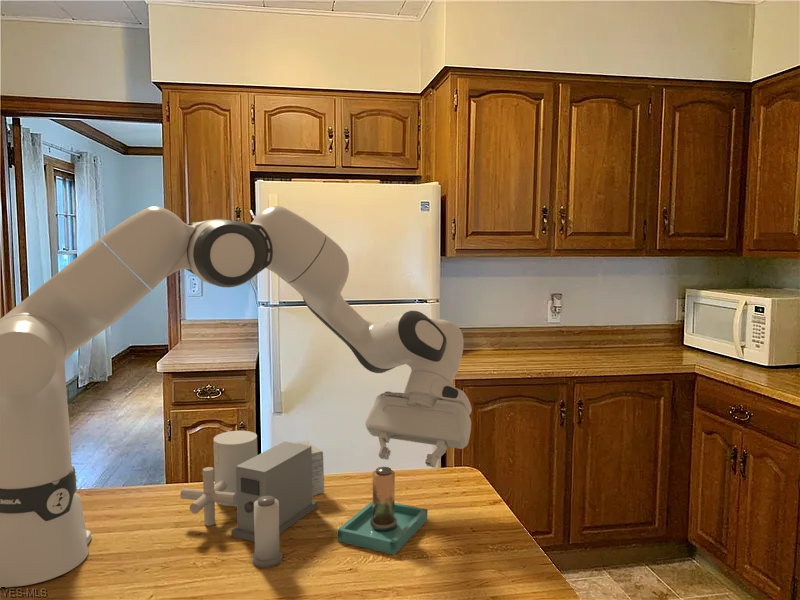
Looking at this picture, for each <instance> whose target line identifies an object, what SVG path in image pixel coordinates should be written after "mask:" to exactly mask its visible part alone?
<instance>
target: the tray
mask: <svg viewBox="0 0 800 600" xmlns="http://www.w3.org/2000/svg"><path fill="white" fill-rule="evenodd" d="M372 517H373V500H372V501H370V502H369V503H368V504H367V505H365V507H363V508H362V509H360V510H359V511H358V512H357V513H356V514H354V515H353V516H352V517H351V518H350V519H348V521H346V522H345V523H343V525H341V526H340V527H339V528H338V529H337V530H336V531H337V532H336V533H337V542H340V543H345V544H348V545H352V546H356V547H361V548H365V549H369V550H374V551H378V552H381V553H385V554H389V555H393V556H394V555H396V554H397V553H398V552H399V551H400V550H401V549H402V548H403V547H404V546H405V544H406V543H407V542H409V541H410V539H411V538H412V537H413V536H414V535H415V534H416V533H417V532H418V531H419V530H420V529H421V528H422V526H423V525H424V524H426V523H427V521H428V509H427V508H422V507H418V506H417V507H416V506H412V505H409V504H402V503H398V502H395V518H396V519H397V527H396V528H395V529H394V530H392V531H388V532H378V531H375V530H373V529H372V528H371V527H370V520H371V518H372Z"/></svg>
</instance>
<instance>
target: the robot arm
mask: <svg viewBox="0 0 800 600" xmlns="http://www.w3.org/2000/svg"><path fill="white" fill-rule="evenodd" d="M264 269H267V270H268V271H271V272H272V273H274V274H275V275H277V276H278V277H279V278H280V279H281V280H283V281H284V282H286V283H287V284H288V285H289V286H291V288H293V289H294V290H296V292H298V294H300V296H301V297H302V299H303V302H304V304H305V305H306V307H307V308H308V309H309V310H310V312H312V314H314V315H315V317H316V318H317V319H319V320H320V322H322V323H323V324H324V325H325V326H326V328H328V329H329V330H330V331H331V332H332V333H334V335H336V336H337V337H338V338H339V339H340V340H341V341H342V342H343V343H345V345H347V347H348V348H349V349H350V350H351V352H352V353H353V355H354V356H355V357H356V359H357V361H358V362H359V363H360V365H362V367H363V368H365V369H366V370H368V371H369V372H371V373H375V374H383V373H386V372H388V371H390V370H393V369H395V368H397V367H400V366H401V367H402V366H404V365H407V366H408V367H409V368H410V370H411V371H410V375H409V377H408V381H407V382H406V386H405V388H404V391H403V392H392V391H389V390H388V391H384V393H380V394H378V395H377V396H376V398H375V399H374V400H375V401H374V404H373V406H372V408H371V409H370V411H369V413H368V415H367V418H366V421H365V428H366V430H367V431H368V433H369V434H370V435H371V436H373V437H378V441H379V445H380V447H379V452H378V457H379V458H380V459H381V460H387V461H388V460H389V459H390V456H391V453H392V450H390V448H389V447H387V444H389V443H390V440H391V439H392V440H397V441H398V440H399V441H405V442H412V443H420V444H426V445H431V446H432V445H433V446H436V448H435V450H434V451H433V452H432V453H427V455H426V459H425V465H426V467H431V468H436V466H437V462H438V460H439V459H440V458H442V456H443V455H444V454H446V452H447V449H448V448H451V449H452V448H453V449H460V450H463V449H464V448H466V447H467V446H468V445H469V442H470V436H471V432H472V431H471V430H472V419H471V417H470V415H471V414H472V411H473V409H472V408H473V407H472V405H471V402H470V400H469V397H468V395H466V393H465V392H464V391H463V390H461V389H460V388H457V387H455V386H454V379H455V376H456V375H457V373H458V372H459V369H460V365H461V361H462V357H463V351H464V342H465V341H464V334H463V332H462V330H461V329H460V328H459V326H458V325H456V324H455V323H454V322H452V321H450V320H448V319H447V320H446V319H442V318H441V319H432V318H430V317H428V316H427V315H426V314H424V313H423V312H420V311H419V310H409V311H405V312H402V313H400V314H397V315H395V316H394V315H393V316H391V317H390V318H387V319H383V321H382V320H381V321H378V322H376V321H375V322H373V321H370V320H369V321H368V320H366V319H365V318H364V317H362V316H361V314H359V313H358V312H357V311H356V310H355V309H354V308H353V307H352V306H351V304H349V303H348V302H347V301H346V300H345V298H343V296H342V294H341V293H342V291H343V289H344V287H345V286H346V283H347V281H348V277H349V273H350V265H349V260H348V256H347V253H345V251H344V250H343V249H342V248H341V246H340V245H339V244H338V243H337V242H336V241H334V240H333V239H332V238H331V237H329V236H328V235H327V234H325V232H323V231H322V230H320V229H319V228H318V227H317V226H316V225H314V224H313V223H312V222H310V221H308V220H307V219H306V218H304V217H302V216H300V215H299V214H297V213H296V212H293V211H291V210H289V209H287V208H285V207H284V206H280V205H279V206H278V205H275V206H270V207H267V208H266V209H263V210H262V211H261V212H259V213H258V214H257V215H256V216H255V217H254V219H252V222H243V221H236V220H230V219H226V218H214V219H206V220H200V221H196V222H190V223H185V222H184V221H183V220H182V219H181V218H180V216H178V215H177V214H175V212H172V211H171V210H169V209H167V208H164V207H163V206H162V207H161V206H156V205H155V206H149V207H146V208H144V209H142V210H140V211H139V212H137V213H135V214H133V215H131V216H129V217H127V218H126V219H125V220H122V221H121V222H120V223H118V224H117V225H116V226H113V228H111V229H110V230H108V231H107V232H105V234H103V235H102V236H101V237H100V239H97V240H96V241H95V242H94V243H92V244H91V245H90V246H89V247H87V248H85V250H83V252H81V253H80V254H79V255H78V256H76V258H74V259H73V260H72V261H70V262H69V263H68V264H67V265H66V266H64V267H63V268H62V269H61V270H60V271H58V272H57V273H56V274H54V275H53V276H52V277H51V278H49V279H48V280H47V281H45V283H43V284H42V285H40V286H39V287H38V288H37V289H36V290H34V291H33V292H32V293H31V294H30V295H28V296H27V297H26V298H25V299H23V300H22V301H21V302H20V303H19V304H17V305H16V306H14V307H13V308H12V309H11V310H10V311H9V312H7V313H6V314H5V315H3V316H2V317H1V318H0V589H2V588H1V587H5V588H14V587H23V586H30V585H34V584H39V583H42V582H46V581H50V580H52V579H55V578H57V577H60V576H62V575H64V574H66V573H68V572H70V571H72V570H74V569H75V568H77V567H78V566H80V564H81V563H83V562H84V561H85V560H86V558H87V557H88V554H89V547H88V545H89V543H90V541H91V540H92V532H91V530H88V529H86V522H85V516H84V510H83V506H82V505H83V504H82V499H81V495H80V494H79V493H77V492H76V491H77V481H78V480H77V474H76V469H75V467H74V466H73V463H72V462H73V461H72V448H71V447H72V446H71V426H70V417H69V416H70V415H69V404H68V395H67V394H68V393H67V382H66V367H65V365H66V363H65V361H67V359H68V358H69V357H70V356H72V355H73V354H74V353H76V352H77V351H78V350H79V349H81V348H82V347H83V346H84V345H86V344H87V343H89V342H90V341H91V340H93V339H94V338H95V337H97V336H98V335H99V334H101V333H102V332H103V331H105V330H106V329H108V328H109V327H111V326H112V325H114V324H115V323H116V322H117V321H119V320H120V318H122V317H123V316H124V315H125V314H126V313H128V311H130V310H131V309H132V308H133V307H134V306H135V305H137V304H138V303H139V302H140V301H141V300H142V299H144V298H145V297H146V296H147V295H148V294H149V293H150V292H152V290H154V289H155V288H156V287H157V286H158V285H159V284H160V283H161V282H162V281H163V280H164V279H166V278H167V277H169V276H171V275H172V274H174V273H176V272H178V271H182V270H186V271H188V272H190V273H192V274H193V275H195V276H196V277H197V278H199V280H200V281H202V282H204V283H207V284H210V285H213V286H217V287H221V288H234V287H238V286H242V285H244V284H245V283H248V282H249V281H251V279H253V278H254V277H256V275H258V274H259V273H260V272H262V271H264Z"/></svg>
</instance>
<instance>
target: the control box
mask: <svg viewBox="0 0 800 600" xmlns="http://www.w3.org/2000/svg"><path fill="white" fill-rule="evenodd" d="M296 443H297V442H291V441H282V442H281V443H279V444H277V445H275V446H273V447H271V448H270V449H267V450H265V451H262V452H261V453H259V454H258V455H257V456H255V457H253V458H251V459H249V460H247V461H245V462H243V463H241V464H239V465H237V466H236V489H237V506H236V514H237V515H236V519H237V521H236V522H237V526H236V527H234V528H233V529H231V537H236V538H238V539H243V540H245V541H250V542H253V543H255V533H254V502H255V501H257V500H258V498H260V497H262V496H273V497H274V498H275V499H277V500H278V501H279V535H280V534H282V533H283V532H285V531H286V530H287V529H289V528H290V527H292V526H293V525H294V524H295V523H297V522H298V521H300V520H301V519H302V517H303V518H304V517H305V516H307V515H308V514H310V513H312V511H315V509H317V508H318V501H315V500H313V496H312V448H311V446H308V445H302V444H296ZM299 519H300V520H299Z"/></svg>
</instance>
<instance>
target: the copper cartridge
mask: <svg viewBox="0 0 800 600" xmlns="http://www.w3.org/2000/svg"><path fill="white" fill-rule="evenodd" d="M395 483H396V482H395V471H394V470H393V469H392V468H391V467H388V466H379V467H377V468H376V469H375V470H373V471H372V501H373V517H372V518H371V520H370V527H371V528H372V529H373V530H375V531H378V532H388V531H392V530H394V529H395V528H396V527H397V519H396V518H395V503H396V501H395V499H396V498H395V497H396V495H395V492H396V491H395V490H396V489H395V485H396V484H395Z"/></svg>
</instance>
